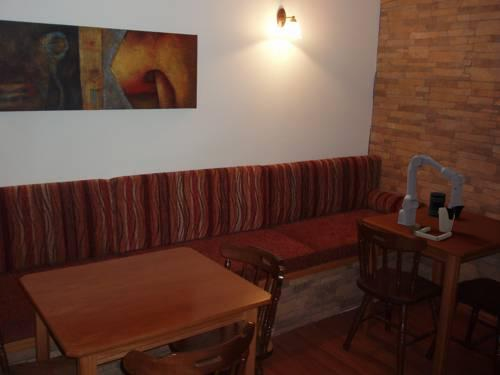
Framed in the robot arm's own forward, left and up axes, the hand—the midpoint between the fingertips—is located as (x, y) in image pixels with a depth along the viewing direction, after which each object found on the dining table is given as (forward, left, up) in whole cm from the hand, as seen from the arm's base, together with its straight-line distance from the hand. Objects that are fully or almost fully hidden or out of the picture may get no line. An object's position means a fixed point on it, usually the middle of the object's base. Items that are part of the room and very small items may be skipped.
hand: (453, 218), depth 293 cm
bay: (-7, -8, -10) cm, 15 cm away
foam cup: (-7, +6, -10) cm, 14 cm away
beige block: (-17, -12, -10) cm, 23 cm away
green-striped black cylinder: (-28, +34, -10) cm, 45 cm away
